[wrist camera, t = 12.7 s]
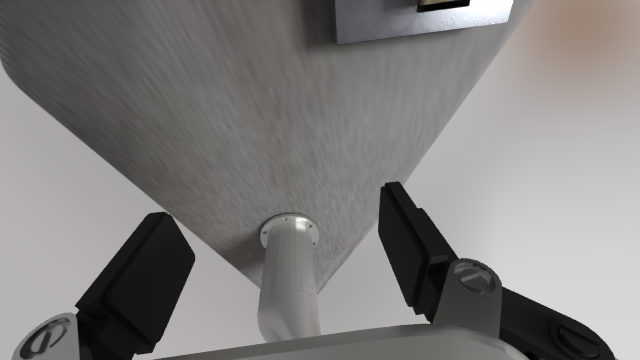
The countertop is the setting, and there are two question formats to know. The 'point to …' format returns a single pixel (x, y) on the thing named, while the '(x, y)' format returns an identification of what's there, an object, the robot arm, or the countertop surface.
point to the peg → (430, 2)
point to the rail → (408, 17)
